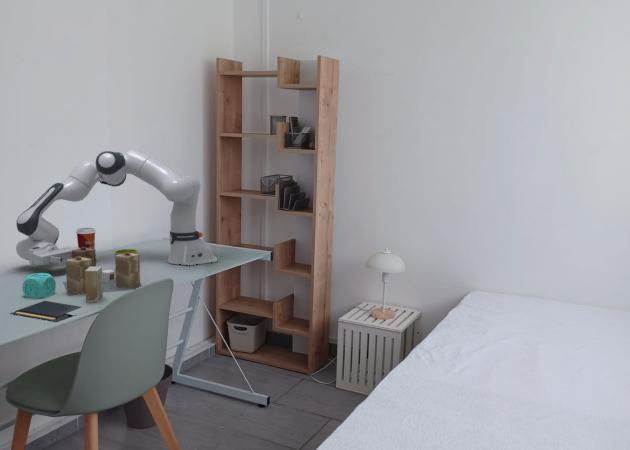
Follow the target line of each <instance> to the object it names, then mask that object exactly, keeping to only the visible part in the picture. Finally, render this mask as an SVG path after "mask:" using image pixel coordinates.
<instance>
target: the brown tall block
mask: <svg viewBox="0 0 630 450" xmlns="http://www.w3.org/2000/svg"><path fill="white" fill-rule="evenodd" d="M114 257H115V259H114V260H115V271H116V286H118V287H123V288H127V289H129V288H132V287H135V286H138V285H140V283H141V267H140V263H141V262H140V254H138V253H136V254H133V253H130V252H125V253H123V254H119V255H114Z"/></svg>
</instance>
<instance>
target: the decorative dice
mask: <svg viewBox="0 0 630 450" xmlns="http://www.w3.org/2000/svg"><path fill="white" fill-rule="evenodd" d="M56 285H57V283H56V280H55V278H54V277H53V275H51V274H50V273H46V272H38V273H37V272H36V273H31V274H27V276H26V277H25V278H24V280H23V282H22V287H21V288H22V292H23V295H24V296H25V297H26V298H31V299H44V298H47V297H49V296H52V295H54V294H55V291H56V289H57V286H56Z"/></svg>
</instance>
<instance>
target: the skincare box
mask: <svg viewBox="0 0 630 450" xmlns="http://www.w3.org/2000/svg"><path fill="white" fill-rule="evenodd" d="M102 268H103V267H102V266H96V267H89V268H87V269H86V270H85V284H86V294H85V302H89V303H91V302H92V303H95V302H97V303H98V302H100V301H101V300H102V298H103V297H104V295H103V293H104V292H103V291H102V271H103V269H102Z"/></svg>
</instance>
